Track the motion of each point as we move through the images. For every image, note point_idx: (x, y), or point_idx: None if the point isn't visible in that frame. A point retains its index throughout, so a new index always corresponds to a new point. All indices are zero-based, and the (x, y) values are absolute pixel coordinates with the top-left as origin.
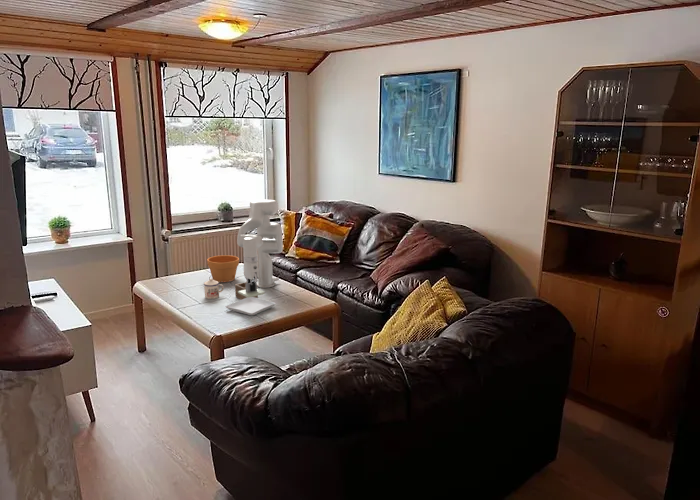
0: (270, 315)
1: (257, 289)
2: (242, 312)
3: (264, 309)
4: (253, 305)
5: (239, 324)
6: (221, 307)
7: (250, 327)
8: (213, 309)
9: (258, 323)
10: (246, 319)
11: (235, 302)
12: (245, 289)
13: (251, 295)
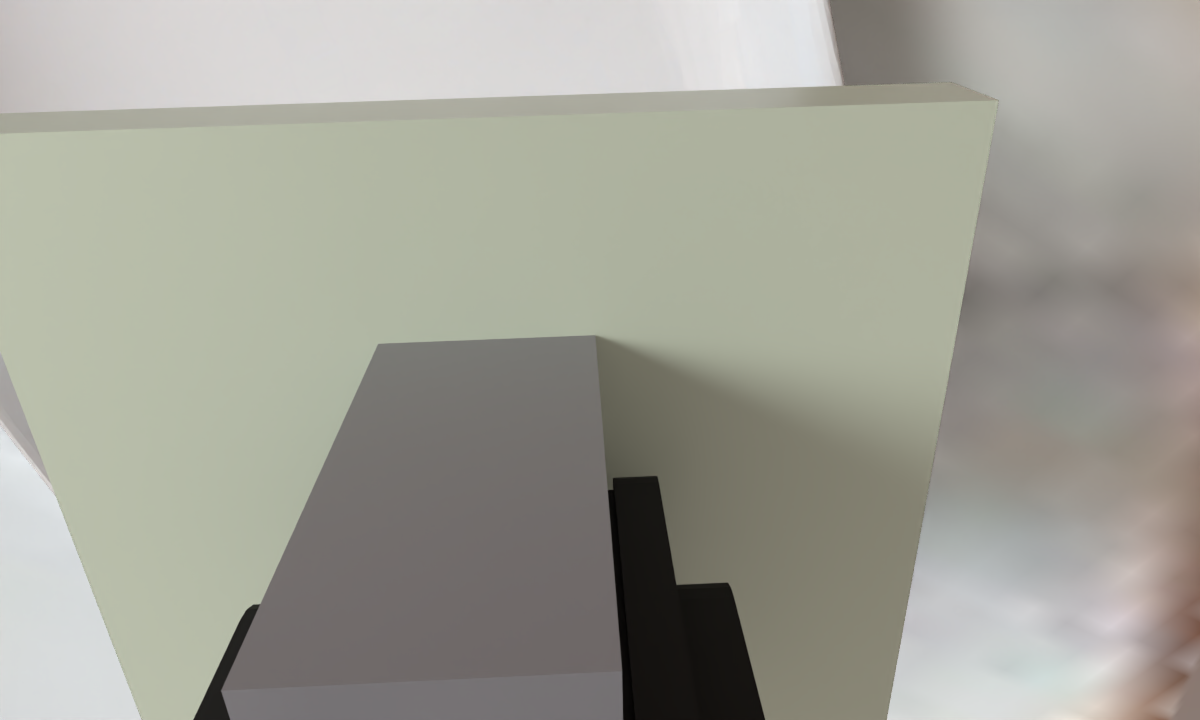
0: (1064, 50)
1: (361, 197)
2: None
3: (778, 42)
4: (249, 72)
5: (964, 669)
6: (22, 599)
7: (1195, 606)
8: (80, 716)
9: (1182, 452)
10: None
11: (38, 452)
12: (102, 606)
13: (883, 682)
